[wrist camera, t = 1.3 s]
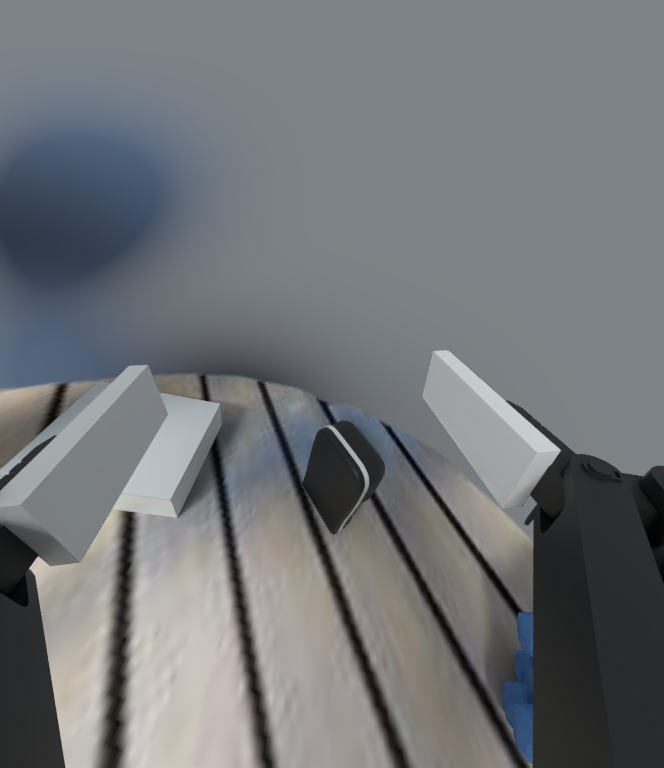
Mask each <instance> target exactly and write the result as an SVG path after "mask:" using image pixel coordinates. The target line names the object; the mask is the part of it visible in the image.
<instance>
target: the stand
mask: <svg viewBox="0 0 664 768" xmlns="http://www.w3.org/2000/svg"><path fill="white" fill-rule="evenodd" d="M110 384H111V383H106V382H100V381H98V382H97V383H96V384H95V385H94V386H93V387H91V388H90V389H89V390H88V391H87V392H86V393H85V394H84V395H83V396H81V397H80V398H79V399H78V400H77V401H76V402H75V403H74V404H73V405H71V406H70V407H69V408H68V409H67V410H66V411H65V412H64V413H63V414H61V415H60V416H59V417H58V418H57V419H56V420H55V421H54V422H52V423H51V424H50V425H49V426H48V427H47V428H46V429H45V430H44V431H42V432H41V433H40V434H39V435H38V436H37V437H36V438H35V439H34V440H32V441H31V442H30V443H29V444H28V445H27V446H26V447H25V448H24V449H22V450H21V451H20V452H19V453H18V454H17V455H16V456H15V457H13V458H12V459H11V460H10V461H9V462H8V463H7V464H6V465H5V466H3V467H2V468H1V469H0V478H1V479H2V478H3V477H4V476H5V475H8V474H9V471H10V470H11V469H12V468H13V467H14V466H15V465H17V464H18V463H21V460H22V459H23V458H24V457H25V456H26V455H27V454H28V453H29V452H30V451H32V450H33V449H34V448H35V447H36V446H38V445H39V444H41V443H43V442H44V441H46V440H47V439H49V438H51V437H52V436H54V435H58V434H59V433H60V432H61V431H62V430H64V429H65V428H66V427H67V426H68V425H69V424H70V423H71V422H72V421H73V420H74V419H75V418H76V417H77V416H78V415H79V414H80V413H81V412H82V411H83V410H84V409H85V408H86V407H87V406H88V405H89V404H90V403H91V402H92V401H93V400H94V399H95V398H96V397H97V396H99V395H100V394H101V393H102V392H103V391H104V390H105V389H106V388H107V387H108V386H109V385H110ZM159 393H160V392H159ZM160 395H161V398H162V400H163V402H164V405H165V407H166V410H167V412H168V416H167V417H166V419H165V421H164V422H163V424H162V426H161V427H160V429H159V431H158V432H157V434H156V436H155V437H154V439H153V441H152V443H151V444H150V446H149V448H148V449H147V451H146V453H145V454H144V456H143V458H142V459H141V461H140V463H139V464H138V466H137V468H136V470H135V471H134V473H133V475H132V476H131V478H130V480H129V481H128V483H127V485H126V486H125V488H124V490H123V491H122V493H121V495H120V496H119V498H118V500H117V502H116V503H115V505H114V507H113V508H112V509H116V510H123V511H130V512H137V513H144V514H152V515H159V516H166V517H173V518H178V516H179V514H180V512H181V510H182V507H183V505H184V503H185V501H186V499H187V497H188V495H189V493H190V491H191V489H192V486H193V484H194V482H195V480H196V478H197V476H198V474H199V472H200V470H201V467H202V465H203V463H204V461H205V459H206V457H207V455H208V453H209V451H210V449H211V446H212V444H213V442H214V440H215V438H216V436H217V434H218V432H219V430H220V428H221V425H222V419H221V406H220V404H219V403H214V402H209V401H203V400H198V399H192V398H187V397H182V396H176V395H171V394H165V393H160Z"/></svg>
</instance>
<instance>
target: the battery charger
mask: <svg viewBox="0 0 664 768" xmlns="http://www.w3.org/2000/svg"><path fill="white" fill-rule="evenodd" d="M384 473H385V466H384V462H383V460H382V458H381V457H380V455H379V454H378V453H377V452H376V450H375V449H374V448H373V447H372V445H371V444H370V443H369V442H368V440H367V439H366V438H365V437H364V436H363V434H362V433H361V432H360V431H359V430H358V429H357V427H356V426H355V425H354V424H352V423H351V422H349V421H340V422H337V423H335V424H332V425H327V426H325V427H323V428H322V429H321V430H319V431H318V433H317V435H316V437H315V440H314V443H313V447H312V450H311V454H310V458H309V462H308V467H307V471H306V475H305V478H304V481H303V486H304V488H305V490H306V491H307V493H308V495H309V497H310V498H311V500H312V502H313V504H314V505H315V507H316V509H317V510H318V512H319V514H320V516H321V517H322V519H323V521H324V522H325V524H326V526H327V527H328V529H329V531H330V532H331V533H332V534H335V533H338V532H340V531H341V530H342V529H343V528H344V527H346V525H347V524H348V523H349V522H350V520H351V518H352V515H353V514H354V512H355V511H356V510H357V509H358V507H359V506H360V505H361V504H362V503H363V502H364V501H366V500H368V499H369V498H370V497H371V496H372V494H373V493H374V491H375V490H376V488H377V487H378V485H379V483H380V481H381V480H382V478H383V476H384Z"/></svg>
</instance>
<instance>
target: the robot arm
mask: <svg viewBox="0 0 664 768" xmlns="http://www.w3.org/2000/svg"><path fill="white" fill-rule="evenodd" d="M423 398H424V400H425V401H426V402H427V404H428V405H429V406H430V408H431V409H432V411H433V412H434V414H435V415H436V416H437V418H438V419H439V421H440V422H441V423H442V425H443V426H444V428H445V429H446V430H447V432H448V433H449V435H450V436H451V437H452V439H453V440H454V441H455V443H456V444H457V446H458V447H459V448H460V450H461V451H462V453H463V454H464V456H465V457H466V458H467V460H468V461H469V463H470V464H471V465H472V467H473V468H474V470H475V471H476V472H477V474H478V475H479V477H480V478H481V479H482V481H483V482H484V484H485V485H486V487H487V488H488V489H489V491H490V492H491V494H492V495H493V496H494V498H495V499H496V500H497V502H498V503H499V505H500V506H501V508H502V509H506V508H513V507H521V506H523V505H524V504H525V502H526V501H527V499H528V498H529V496H530V495H531V496H532V497H533V499H534V500H535V501H536V502H537V505H536V506H535V508H534V509H533V510H532V512H531V513H530V515H529V516H528V517H527V519H526V521H525V524H526V525H529V524H530V522H531V521H532V520H534V550H533V768H664V466H655V467H652V468H651V469H650V470H649V471H648V472H647V473H646V474H645V475H644V476H638V475H631V474H625V473H621V472H620V471H619V470H618V469H617V468H615V467H614V466H612V465H611V464H609V463H607V462H606V461H604V460H601V459H599V458H596V457H593V456H590V455H585V454H575V453H574V452H573V451H572V450H571V449H569V448H568V447H567V446H566V445H565V444H564V443H563V442H561V441H560V440H559V439H558V438H557V437H555V436H554V435H553V434H552V433H551V432H550V431H548V430H547V429H546V428H545V427H544V426H541V424H540V423H539V422H538V421H536V420H535V419H533V418H532V416H531V415H530V414H528V413H527V412H526V411H525V410H524V409H523V408H521V407H519V406H517V405H515V404H514V403H512V402H510V401H505V400H503V399H502V398H501V397H500V396H499V395H498V394H497V393H495V392H494V391H493V390H492V389H491V388H490V387H489V386H488V385H486V384H485V383H484V382H483V381H482V380H481V379H480V378H479V377H477V376H476V375H475V374H474V373H473V372H472V371H471V370H470V369H468V368H467V367H466V366H465V365H464V364H463V363H462V362H460V361H459V360H458V359H457V358H456V357H455V356H454V355H453V354H452V353H450V352H449V351H448V350H447V351H434V352H433V355H432V360H431V364H430V368H429V372H428V376H427V380H426V384H425V388H424V393H423ZM167 416H168V412H167V410H166V407H165V405H164V402H163V400H162V398H161V395H160V393H159V390H158V388H157V385H156V383H155V381H154V378H153V376H152V373H151V371H150V369H149V366H148V365H137V366H128V367H127V368H126V369H125V370H124V371H123V372H122V373H121V374H120V375H119V376H118V377H117V378H116V379H115V380H114V381H113V382H112V383H111V384H110V385H109V386H108V387H107V388H106V389H105V390H104V391H103V392H102V393H101V394H100V395H99V396H97V397H96V398H95V399H94V400H93V401H92V402H91V403H90V404H89V405H88V406H87V407H86V408H85V409H84V410H83V411H82V412H81V413H80V414H79V415H78V416H77V417H76V418H75V419H74V420H73V421H72V422H71V423H70V424H69V425H68V426H67V427H66V428H65V429H64V430H62V431H61V432H60V433H59V434H58V435H54V436H52V437H51V438H49V439H47V440H46V441H44V442H43V443H41V444H39V445H38V446H36V447H35V448H34V449H33V450H32V451H30V452H29V453H28V454H27V455H26V456H25V457H24V458H23V459H22V460H21V463H18V464H17V465H15V466H14V467H13V468H12V469H11V470H10V471H9V474H8V475H5V476H4V477H3V478H2V479H0V768H65V763H64V757H63V750H62V744H61V738H60V731H59V725H58V719H57V712H56V706H55V700H54V693H53V687H52V681H51V674H50V668H49V661H48V655H47V649H46V642H45V636H44V630H43V623H42V617H41V611H40V604H39V598H38V592H37V585H36V579H35V575H34V574H33V572H32V571H31V570H30V569H29V568H30V566H31V565H32V563H33V562H34V561H35V559H36V558H37V557H38V556H39V557H40V558H41V559H43V560H44V561H45V562H46V563H47V564H49V565H50V566H55V565H63V564H71V563H79V562H81V561H82V559H83V557H84V555H85V554H86V552H87V550H88V549H89V547H90V545H91V544H92V542H93V540H94V539H95V537H96V535H97V534H98V532H99V530H100V529H101V527H102V525H103V523H104V522H105V520H106V518H107V517H108V515H109V513H110V512H111V510H112V508H113V507H114V505H115V503H116V502H117V500H118V498H119V496H120V495H121V493H122V491H123V490H124V488H125V486H126V485H127V483H128V481H129V480H130V478H131V476H132V475H133V473H134V471H135V470H136V468H137V466H138V464H139V463H140V461H141V459H142V458H143V456H144V454H145V453H146V451H147V449H148V448H149V446H150V444H151V443H152V441H153V439H154V437H155V436H156V434H157V432H158V431H159V429H160V427H161V426H162V424H163V422H164V421H165V419H166V417H167Z"/></svg>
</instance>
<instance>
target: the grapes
mask: <svg viewBox="0 0 664 768" xmlns="http://www.w3.org/2000/svg"><path fill="white" fill-rule="evenodd" d="M517 624H518V639H519V642H520V645H521V648H522V649H523V650H519V651H516V652H515V675H516V679H517V681H506V682H504V689H503V705H504V711H505V715H506V718H507V721H508V722H509V724H510V725H511V726H512V728H513V731H514V737H515V740H516V744H517V748H518V750H519V751H520V752H521V754H522V755H523V757H524V758H525V759H526V761H528V762H530V763H531V764H533V612H518V621H517Z"/></svg>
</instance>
